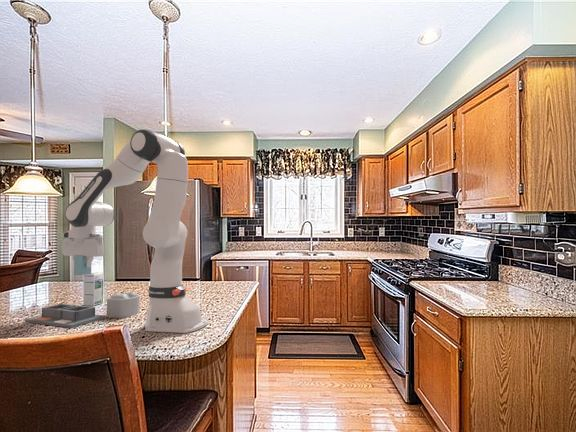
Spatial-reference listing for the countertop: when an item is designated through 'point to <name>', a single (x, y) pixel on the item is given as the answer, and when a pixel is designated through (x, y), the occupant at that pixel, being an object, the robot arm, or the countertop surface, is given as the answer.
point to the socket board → (66, 316)
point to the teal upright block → (81, 266)
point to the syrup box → (93, 289)
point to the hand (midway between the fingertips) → (82, 266)
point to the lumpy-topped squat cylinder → (123, 304)
